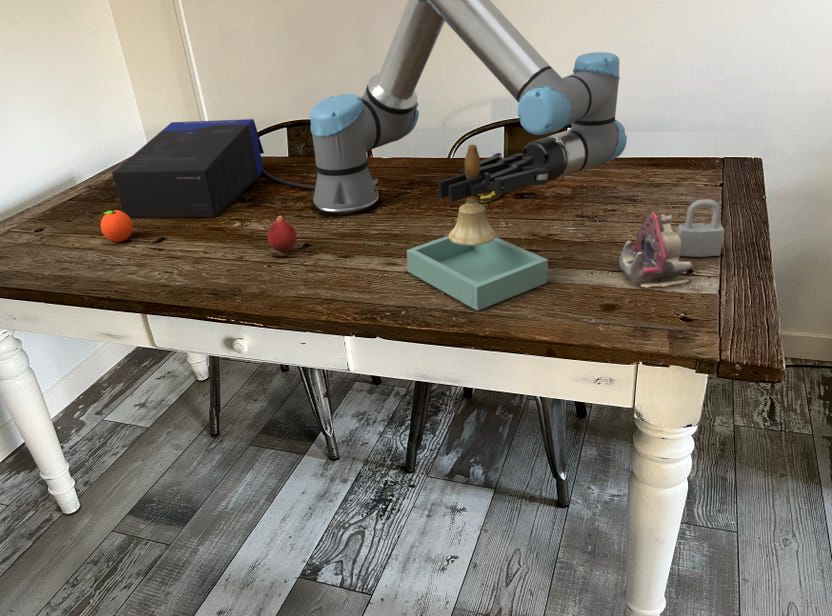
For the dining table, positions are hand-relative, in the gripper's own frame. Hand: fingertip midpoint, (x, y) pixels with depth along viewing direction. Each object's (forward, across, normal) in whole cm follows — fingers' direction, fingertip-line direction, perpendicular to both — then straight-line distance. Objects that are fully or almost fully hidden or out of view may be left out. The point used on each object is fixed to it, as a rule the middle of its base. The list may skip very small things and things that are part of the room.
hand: (445, 191), depth 123 cm
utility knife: (-38, +31, -18) cm, 52 cm away
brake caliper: (-28, -20, -17) cm, 39 cm away
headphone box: (+15, +86, -18) cm, 89 cm away
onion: (+16, +34, -18) cm, 42 cm away
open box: (-6, 0, -17) cm, 18 cm away
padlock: (-41, -20, -17) cm, 48 cm away
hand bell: (-6, 0, -10) cm, 11 cm away
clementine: (+41, +69, -18) cm, 82 cm away
